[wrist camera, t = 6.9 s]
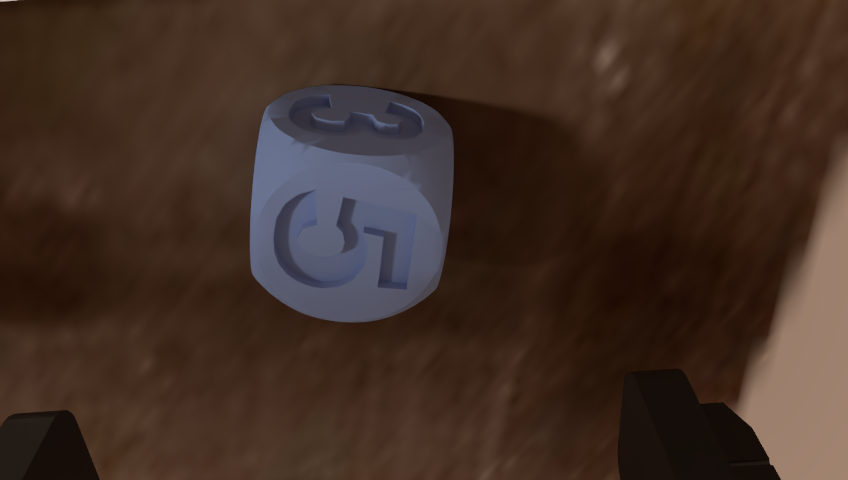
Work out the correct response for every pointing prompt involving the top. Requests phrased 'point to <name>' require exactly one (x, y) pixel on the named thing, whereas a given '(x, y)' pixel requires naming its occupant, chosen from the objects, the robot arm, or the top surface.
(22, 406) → the top surface
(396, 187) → the decorative dice
